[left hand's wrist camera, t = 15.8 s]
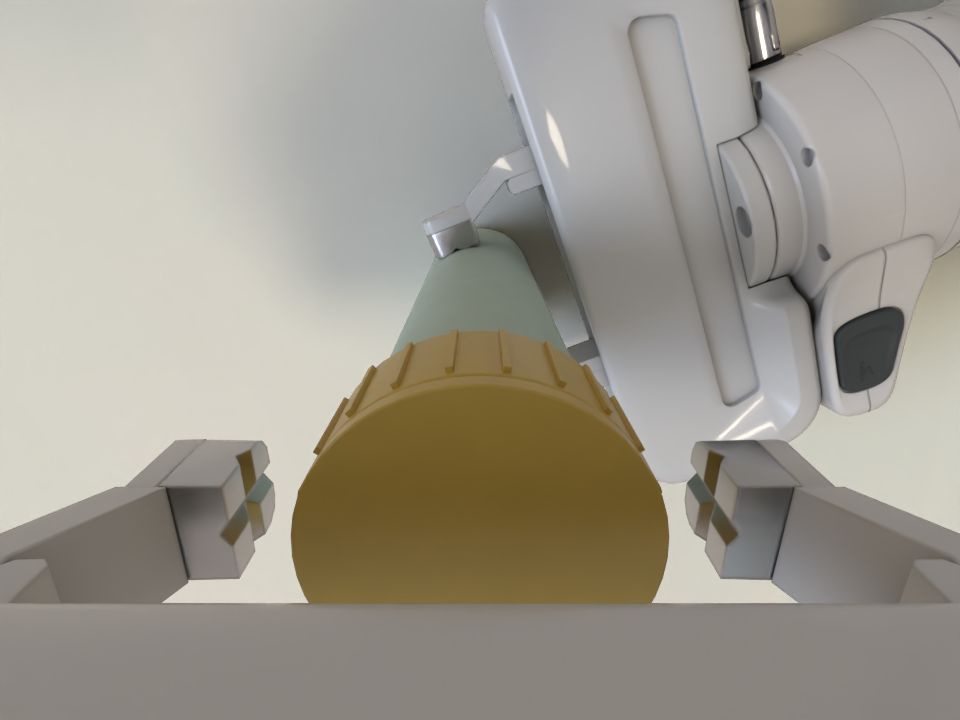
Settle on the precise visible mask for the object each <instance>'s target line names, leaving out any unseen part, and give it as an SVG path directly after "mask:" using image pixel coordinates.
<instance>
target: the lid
mask: <svg viewBox="0 0 960 720" xmlns="http://www.w3.org/2000/svg"><path fill="white" fill-rule="evenodd" d="M644 450H645V448H644V446H643V445H642V443H641V441H640V439H639V438H638V436H637V434H636V432H635V430H634V429H633V427H632V425H631V423H630V422H629V420H628V418H627V416H626V415H625V413H624V411H623V409H622V408H621V406H620V404H619V402H618V401H617V399H616V397H615V396H614V395H613V396H612V397H609V395H608V394H607V392H606V390H605V389H604V388H603V387H602V386H601V384H600V383H599V382H598V381H597V380H596V378H595V376H594V375H593V373H592V371H591V369H590V367H589V366H588V365H587V364H584V365H583V366H581V365H580V364H579V363H578V362H577V361H575V360H574V359H572V358H570V357H569V356H567V355H566V354H564V353H563V352H561V351H559V350H557V349H555V348H553V346H552V343H551V342H549V341H547V340H546V341H545V343H543V342H540V341H537V340H534V339H531V338H528V337H524V336H521V335H515V334H510V333H506V329H501V328H500V329H499V332H496V331H481V330H480V331H464V332H458V329H452V330H451V333H450V334H445V335H439V336H436V337H433V338H430V339H426V340H423V341H420V342H418V343H415V344H413V343H412V342H409V343H406V345H405V348H404V349H403V350H401V351H399V352H397V353H396V354H394V355H393V356H391V357H390V358H388V359H387V360H385V361H383V362H382V363H381V364H380V365H379V366H377V367H376V368H375V367H374V366H373V365H372V366H371V367H370V368H369V369H368V371H367V373H366V375H365V376H364V378H363V380H362V382H361V383H360V384H359V386H358V387H357V388H356V389H355V391H354V392H353V394H352V395H351V397H350V398H349V399H347V398H344V399H343V401H342V402H341V404H340V406H339V408H338V409H337V411H336V413H335V415H334V416H333V418H332V420H331V422H330V423H329V425H328V427H327V429H326V430H325V432H324V434H323V436H322V437H321V439H320V441H319V443H318V444H317V446H316V448H315V450H314V451H313V453H315V454H317V455H318V456H317V457H316V459H315V461H314V463H313V465H312V467H311V468H310V470H309V472H308V474H307V476H306V478H305V480H304V481H303V483H302V485H301V487H300V489H299V491H298V497H297V501H296V505H295V508H294V512H293V517H292V528H291V546H292V558H293V562H294V566H295V571H296V575H297V578H298V581H299V583H300V586H301V588H302V591H303V593H304V595H305V597H306V599H307V601H308V602H309V603H652V601H653V599H654V598H655V596H656V593H657V591H658V588H659V586H660V583H661V581H662V579H663V575H664V571H665V567H666V562H667V558H668V546H669V528H668V517H667V513H666V509H665V505H664V501H663V497H662V494H661V493H662V491H661V487H660V485H659V483H658V482H657V480H656V478H655V476H654V474H653V472H652V471H651V469H650V467H649V465H648V463H647V462H646V460H645V458H644V456H643V454H642V452H643V451H644Z"/></svg>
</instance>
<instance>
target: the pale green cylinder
mask: <svg viewBox="0 0 960 720" xmlns="http://www.w3.org/2000/svg"><path fill="white" fill-rule="evenodd" d="M476 230H477V233H478V236H479V244H477V245H474V246H472V247H469V248H467V249H463V250H461V249H457V248H456V249H455V251H454V252H453V254H450V255H449V256H447V257H444V258H441V259H437V258H435V260H434V262H433V264H432V266H431V269H430V271H429V273H428V275H427V277H426V280H425V282H424V284H423V286H422V288H421V290H420V293H419V295H418V297H417V299H416V301H415V304H414V306H413V308H412V310H411V312H410V315H409V317H408V319H407V321H406V323H405V326H404V328H403V330H402V332H401V334H400V336H399V339H398V341H397V343H396V345H395V347H394V350H393V352H392V354H391V356H393V355H394V354H396V353H397V352H399V351H401V350H403V349H404V348H405V345H406V343H409V342H412V343H413V344H415V343H418V342H420V341H423V340H426V339H430V338H433V337H436V336H439V335H445V334H450V333H451V330H452V329H458V332H464V331H480V330H481V331H496V332H499V329H500V328H501V329H506V333H510V334H515V335H521V336H524V337H528V338H531V339H534V340H537V341H540V342H543V343H545V341H546V340H547V341H549V342H551V343H552V346H553V348H555V349H557V350H559V351H561V352H563V353H564V354H566V355H567V356H569V357H570V355H569V353H568V351H567V349H566V347H565V344H564V342H563V340H562V338H561V336H560V333H559V331H558V329H557V327H556V325H555V322H554V320H553V318H552V316H551V314H550V311H549V309H548V307H547V305H546V303H545V300H544V298H543V296H542V294H541V292H540V289H539V287H538V285H537V283H536V281H535V278H534V276H533V274H532V272H531V269H530V267H529V265H528V263H527V261H526V258H525V256H524V254H523V253H522V251H521V249H520V248H519V247H518V245H517V244H516V243H515V242H514V241H513V240H512V239H510V238H509V237H508V236H506V235H505V234H503V233H501V232H498V231H496V230H492V229H487V228H476ZM391 356H390V357H391Z"/></svg>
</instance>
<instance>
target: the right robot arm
mask: <svg viewBox="0 0 960 720" xmlns="http://www.w3.org/2000/svg"><path fill="white" fill-rule="evenodd" d="M484 28H485V32H486V36H487V39H488V42H489V45H490V48H491V51H492V54H493V57H494V60H495V63H496V66H497V68H498V71H499V74H500V77H501V80H502V83H503V86H504V89H505V92H506V95H507V98H508V101H509V104H510V107H511V110H512V113H513V116H514V119H515V122H516V125H517V127H518V130H519V133H520V136H521V139H522V142H523V145H524V147H523V148H520V149H518V150H516V151H513V152H511V153H509V154H506V155H504V156H502V157H499V158H497V159H496V160H495V161H494V162H493V164H492V165H491V166H490V168H489V169H488V170H487V172H486V173H485V174H484V176H483V177H482V178H481V180H480V181H479V182H478V184H477V185H476V186H475V187H474V189H473V190H472V191H471V193H470V194H469V195H468V197H467V198H466V199H465V202H464V204H462V205H459V206H457V207H454V208H452V209H450V210H447V211H445V212H442V213H440V214H437V215H435V216H433V217H431V218H429V219H427V220H425V221H424V222H423V223H422V225H423V228H424V230H425V233H426V235H427V237H428V240H429V242H430V244H431V246H432V249H433V251H434V253H435V256H436V258H437V259H441V258H444V257H447V256H449V255H450V254H453V252H454V251H455V249H456V248H457V249H461V250H463V249H467V248H469V247H472V246H474V245H477V244H479V236H478V233H477V230H476V227H475V225H474V220H475V219H476V218H477V217H478V215H479V214H480V213H481V211H482V210H483V209H484V208H485V206H486V205H487V204H488V202H489V201H490V200H491V199H492V197H493V196H494V195H495V193H496V192H497V191H498V190H499V188H500V187H501V186H502V184H503V183H504V182H506V185H507V188H508V190H509V191H510V192H511V193H512V194H514V195H516V194H518V193H521V192H524V191H526V190H529V189H531V188H534V187H536V186H538V189H539V192H540V195H541V198H542V201H543V204H544V207H545V210H546V213H547V216H548V219H549V222H550V225H551V228H552V231H553V234H554V237H555V240H556V243H557V245H558V248H559V251H560V254H561V257H562V260H563V263H564V266H565V269H566V272H567V275H568V278H569V281H570V284H571V287H572V290H573V293H574V296H575V299H576V302H577V305H578V307H579V310H580V313H581V316H582V319H583V322H584V325H585V328H586V331H587V334H588V337H589V340H587V341H584V342H581V343H579V344H576V345H573V346H571V347H568V348H567V351H568V353H569V355H570V358H572V359H574V360H575V361H577V362H578V363H579V364H580V365H581V366H583V365H584V364H587V365H588V366H589V367H590V369H591V371H592V373H593V375H594V376H595V378H596V380H597V381H598V382H599V383H600V384H601V386H602V387H606V390H607V393H608V395H609V397H612V396H613V395H614V396H615V397H616V399H617V401H618V402H619V404H620V406H621V408H622V409H623V411H624V413H625V415H626V416H627V418H628V420H629V422H630V423H631V425H632V427H633V429H634V430H635V432H636V434H637V436H638V438H639V439H640V441H641V443H642V445H643V446H644V448H645V450H644V451H643V452H642V454H643V456H644V458H645V460H646V462H647V463H648V465H649V467H650V469H651V471H652V472H653V474H654V476H655V478H656V480H657V481H660V482H664V483H668V484H675V483H681V482H685V481H689V480H690V479H691V478H692V477H693V476H694V475H695V474H696V473H697V472H696V471H695V469H694V468H693V466H692V465H691V463H690V460H691V454H692V449H693V447H694V445H695V443H696V442H699V441H720V440H767V439H780V440H783V441H786V442H787V443H788V442H790V441H792V440H793V439H795V438H796V437H797V436H799V435H800V434H801V433H803V432H804V431H805V430H806V429H807V428H808V427H809V425H810V424H811V423H812V421H813V420H814V418H815V416H816V414H817V412H818V409H819V406H820V404H821V405H823V406H824V407H826V408H828V409H830V410H832V411H833V412H835V413H837V414H839V415H842V416H855V415H859V414H863V413H866V412H869V411H872V410H874V409H877V408H879V407H880V406H882V405H883V404H885V403H886V402H887V400H888V399H889V398H890V396H891V394H892V392H893V389H894V386H895V382H896V378H897V374H898V369H899V365H900V361H901V356H902V352H903V348H904V344H905V340H906V337H907V333H908V329H909V326H910V322H911V319H912V316H913V312H914V309H915V306H916V304H917V301H918V298H919V295H920V292H921V290H922V288H923V285H924V283H925V280H926V278H927V276H928V273H929V271H930V268H931V265H932V262H933V259H936V258H938V257H940V256H942V255H944V254H946V253H948V252H949V251H951V250H953V249H955V248H956V247H958V246H960V0H945V1H944V2H942V3H941V4H939V5H937V6H935V7H932V8H929V9H926V10H920V11H910V12H900V13H894V14H890V15H886V16H882V17H879V18H875V19H872V20H869V21H867V22H865V23H862V24H860V25H858V26H855V27H853V28H850V29H848V30H845V31H843V32H840V33H838V34H836V35H833V36H831V37H828V38H826V39H824V40H821V41H819V42H816V43H814V44H812V45H809V46H807V47H804V48H802V49H800V50H797V51H795V52H792V53H790V54H787V55H785V54H784V55H782V53H781V48H780V42H779V36H778V31H777V25H776V19H775V14H774V9H773V5H772V1H771V0H487V2H486V4H485V9H484ZM749 67H750V68H749ZM748 68H749V69H748Z"/></svg>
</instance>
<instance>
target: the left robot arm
mask: <svg viewBox="0 0 960 720" xmlns="http://www.w3.org/2000/svg"><path fill="white" fill-rule="evenodd" d="M269 463H270V460H269V455H268V450H267V446H266V445H265V444H264V443H263V441H250V440H206V439H193V440H176V441H175V442H173V443H172V444H171V445H170V446H169V447H168V448H167V449H166V450H165V451H164V452H162V453H161V454H160V455H159V456H158V457H157V458H156V459H155V460H154V461H153V462H151V463H150V464H149V465H148V466H147V467H146V468H145V469H144V470H143V471H142V472H140V473H139V474H138V475H137V476H136V477H135V478H134V479H133V480H132V481H131V482H129V483H128V484H127V485H126V486H125V487H114V488H112V489H109V490H107V491H104V492H102V493H99V494H97V495H94V496H92V497H90V498H87V499H85V500H82V501H80V502H77V503H75V504H72V505H70V506H67V507H65V508H62V509H60V510H57V511H55V512H53V513H50V514H48V515H45V516H43V517H40V518H38V519H35V520H33V521H30V522H28V523H25V524H23V525H20V526H18V527H16V528H13V529H11V530H8V531H6V532H3V533H1V534H0V720H960V534H959V533H957V532H954V531H952V530H949V529H947V528H944V527H942V526H939V525H937V524H934V523H932V522H929V521H927V520H925V519H922V518H920V517H917V516H915V515H912V514H910V513H907V512H905V511H902V510H900V509H897V508H895V507H893V506H890V505H888V504H885V503H883V502H880V501H878V500H875V499H873V498H870V497H868V496H866V495H863V494H861V493H858V492H856V491H853V490H851V489H848V488H846V487H835V486H834V485H833V484H832V483H831V482H829V481H828V480H827V479H826V478H825V477H824V476H823V475H822V474H821V473H820V472H819V471H817V470H816V469H815V468H814V467H813V466H812V465H811V464H810V463H809V462H808V461H806V460H805V459H804V458H803V457H802V456H801V455H800V454H799V453H798V452H797V451H796V450H794V449H793V448H792V447H791V446H790V445H789V444H788V443H787V442H786V441H783V440H780V439H767V440H720V441H699V442H696V443H695V445H694V447H693V449H692V454H691V460H690V463H691V465H692V466H693V468H694V469H695V471H696V472H697V473H696V474H695V475H694V476H693V477H692V478H691V479H690V480H689V481H688V482H687V485H686V493H685V507H686V515H687V518H688V521H689V524H690V526H691V528H692V530H693V532H694V533H695V534H696V535H697V536H699V537H700V538H702V539H704V540H705V541H706V546H705V553H706V554H707V556H708V558H709V560H710V561H711V563H712V565H713V566H714V568H715V570H716V572H717V573H718V575H719V577H720V578H721V579H750V580H772V583H773V584H774V585H776V586H777V587H778V588H780V589H781V590H782V591H784V592H785V593H786V594H788V595H789V596H790V597H792V598H793V599H794V600H796V601H797V602H798V603H162V602H163V601H164V600H166V599H167V598H168V597H170V596H171V595H172V594H174V593H175V592H176V591H178V590H179V589H180V588H182V587H183V586H184V585H186V584H187V583H188V580H210V579H239V578H240V577H241V575H242V573H243V572H244V570H245V568H246V566H247V565H248V563H249V561H250V560H251V558H252V556H253V554H254V553H255V546H254V541H255V540H256V539H258V538H260V537H261V536H263V535H264V534H265V533H266V532H267V530H268V528H269V526H270V524H271V522H272V517H273V513H274V509H275V491H274V485H273V482H272V481H271V480H270V479H269V478H268V477H267V476H266V475H265V474H264V473H263V472H264V471H265V469H266V468H267V466H268V465H269Z"/></svg>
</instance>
